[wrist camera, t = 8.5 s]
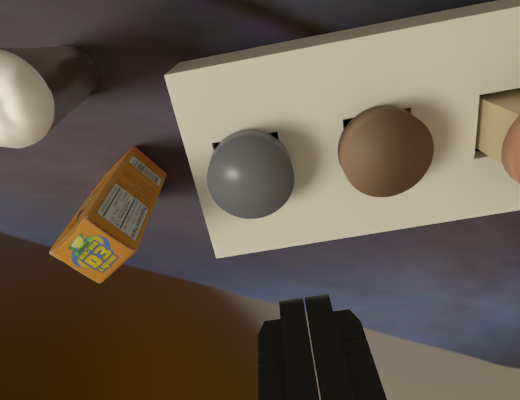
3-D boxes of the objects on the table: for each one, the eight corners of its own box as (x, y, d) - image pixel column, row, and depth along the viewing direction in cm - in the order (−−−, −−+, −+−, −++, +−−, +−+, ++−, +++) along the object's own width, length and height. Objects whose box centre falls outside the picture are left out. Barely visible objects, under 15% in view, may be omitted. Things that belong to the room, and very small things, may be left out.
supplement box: (143, 202, 29) (96, 290, 20) (106, 172, 28) (38, 251, 19) (172, 175, 28) (136, 254, 19) (135, 142, 27) (78, 211, 18)
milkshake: (71, 7, 23) (-44, 9, 14) (123, 88, 25) (54, 134, 16) (12, 43, 24) (-130, 67, 15) (68, 119, 26) (-27, 178, 17)
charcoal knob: (224, 179, 28) (217, 224, 22) (209, 115, 26) (196, 147, 20) (289, 168, 27) (299, 211, 22) (279, 102, 25) (287, 131, 20)
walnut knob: (327, 162, 27) (346, 203, 22) (320, 95, 25) (340, 121, 19) (394, 150, 27) (432, 189, 21) (393, 81, 25) (435, 104, 19)
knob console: (221, 220, 30) (216, 258, 25) (179, 62, 24) (163, 75, 20) (508, 172, 28) (556, 204, 24) (532, -7, 23) (600, -9, 19)
